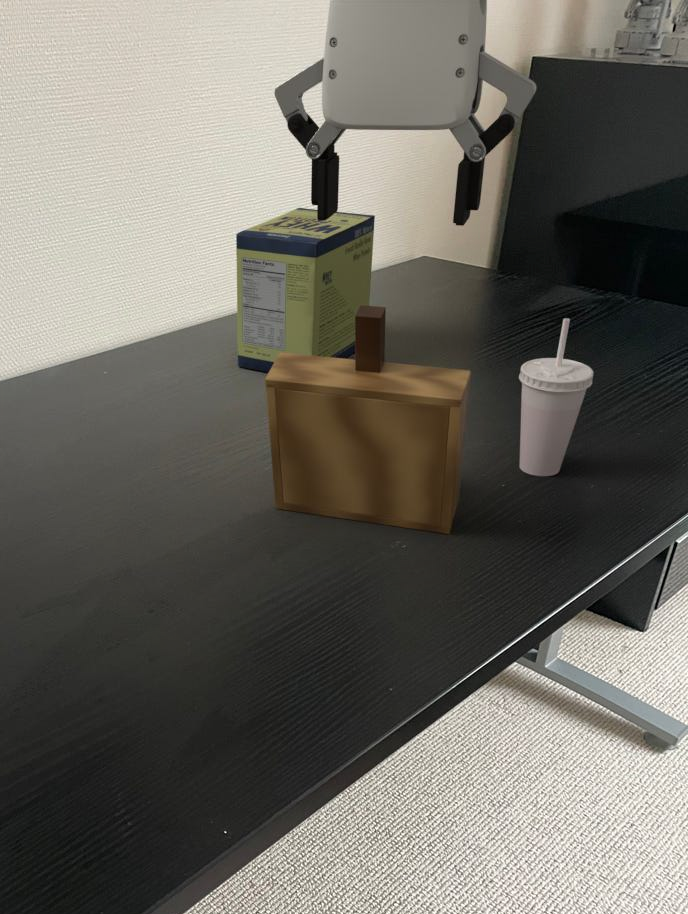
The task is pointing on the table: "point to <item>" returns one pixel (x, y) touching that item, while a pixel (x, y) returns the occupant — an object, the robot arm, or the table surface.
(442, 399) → the wooden drawer
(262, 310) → the protein box
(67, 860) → the table surface
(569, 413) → the smoothie
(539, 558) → the table surface
